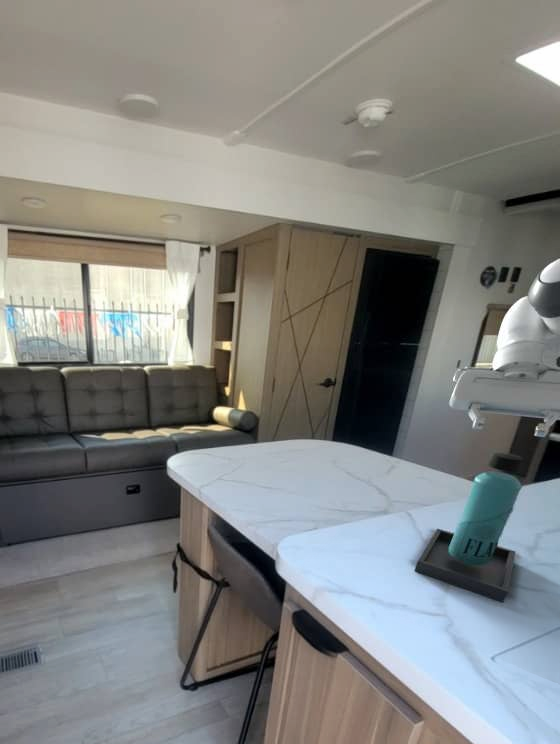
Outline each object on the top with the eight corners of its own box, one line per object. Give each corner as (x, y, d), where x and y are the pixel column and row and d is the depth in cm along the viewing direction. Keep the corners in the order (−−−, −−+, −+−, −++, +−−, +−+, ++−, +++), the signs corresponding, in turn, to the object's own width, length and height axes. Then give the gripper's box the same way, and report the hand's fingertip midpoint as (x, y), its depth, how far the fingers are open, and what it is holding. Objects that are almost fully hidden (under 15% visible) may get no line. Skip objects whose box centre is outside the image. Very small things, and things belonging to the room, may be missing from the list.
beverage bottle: (451, 569, 70) (495, 459, 61) (438, 550, 76) (476, 447, 67) (494, 576, 68) (544, 463, 60) (477, 556, 74) (521, 451, 66)
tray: (434, 537, 82) (437, 528, 81) (511, 561, 74) (515, 551, 74) (414, 571, 70) (417, 560, 69) (502, 602, 63) (508, 591, 62)
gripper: (460, 355, 80) (447, 413, 76) (597, 362, 71) (590, 429, 67) (452, 376, 85) (439, 432, 82) (578, 386, 76) (570, 448, 73)
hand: (508, 431), depth 74 cm, fingers open, 8 cm apart
